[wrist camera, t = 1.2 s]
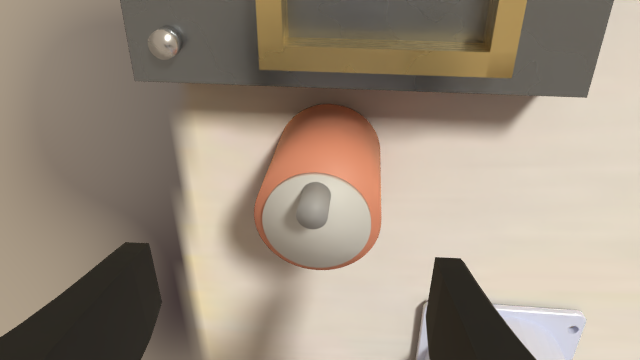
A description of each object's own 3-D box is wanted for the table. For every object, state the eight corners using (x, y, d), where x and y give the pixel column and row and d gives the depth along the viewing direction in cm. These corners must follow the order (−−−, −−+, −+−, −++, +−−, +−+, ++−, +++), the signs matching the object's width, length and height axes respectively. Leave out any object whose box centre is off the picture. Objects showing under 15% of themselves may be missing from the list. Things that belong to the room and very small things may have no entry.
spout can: (377, 197, 23) (377, 304, 17) (281, 192, 24) (248, 294, 18) (383, 106, 21) (386, 191, 15) (278, 102, 22) (238, 183, 15)
